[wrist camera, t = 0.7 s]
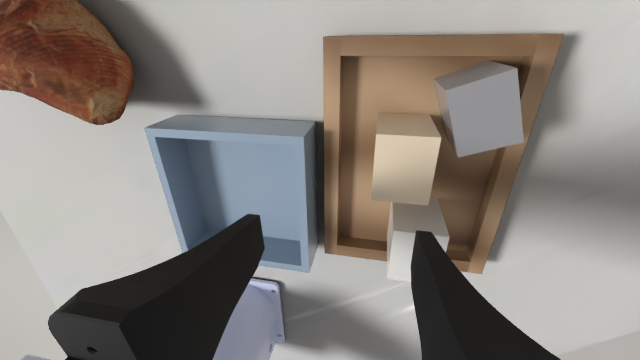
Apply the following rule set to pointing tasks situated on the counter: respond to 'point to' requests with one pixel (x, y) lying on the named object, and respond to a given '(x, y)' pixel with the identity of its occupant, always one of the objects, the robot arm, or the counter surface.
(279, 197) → the dish
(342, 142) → the tray
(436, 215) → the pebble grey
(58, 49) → the bread loaf
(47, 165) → the counter surface
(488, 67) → the matte stone cube
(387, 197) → the cream cube
